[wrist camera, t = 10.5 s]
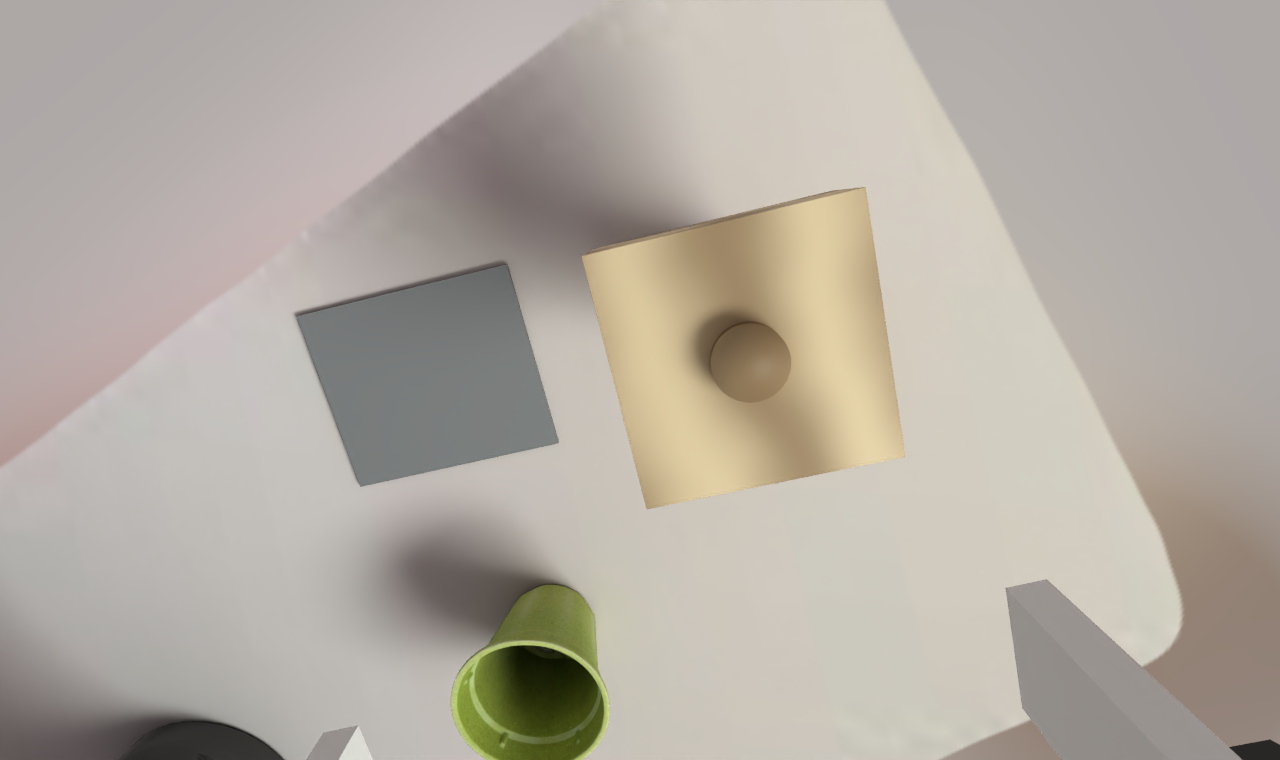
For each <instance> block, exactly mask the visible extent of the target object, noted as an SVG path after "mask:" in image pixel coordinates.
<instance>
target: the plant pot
mask: <svg viewBox="0 0 1280 760" xmlns="http://www.w3.org/2000/svg"><path fill="white" fill-rule="evenodd" d="M537 646H541V647H544V648H547V649H551V650H554V651H553V652H544V651H541V650H539V649H537V648H536V647H537ZM609 710H610V708H609V697H608V693H607V689H606V686H605V684H604V682H603V680H602V678H601V676H600V673H599V670H598V662H597V646H596V627H595V618H594V614H593V612H592V610H591V609H590V607H589V606H588V604H587V603H586V601H585V600H584V598H583V597H582V596H581V595H580V594H578V593H577V592H575V591H574V590H572V589H570V588H567V587H564V586H560V585H542V586H539V587H537V588H535V589H533V590H531V591H529V592H527V593H525V594H523V595H521V596H520V597H519V598H518V600H517V601H516V602H515V604H514V606H513V607H512V609H511V610H510V612H509V613H508V615H507V617H506V618H505V620H504V621H503V623H502V625H501V626H500V628H499V629H498V631H497V632H496V634H495V635H494V637H493V638H492V640H491V641H490V643H489V644H488V645H487V646H486V647H484V648H482V649H481V650H479V651H478V652H477V653H475V654H474V655H473V656H471V657H470V658H469V659H468V660H467V661H466V663H465V664H464V665H463V666H462V668H461V669H460V671H459V673H458V675H457V677H456V679H455V681H454V684H453V688H452V693H451V711H452V716H453V719H454V723H455V725H456V727H457V729H458V731H459V733H460V735H461V736H462V738H463V739H464V740H465V742H466V743H467V744H468V745H469V746H470V747H471V748H472V749H473V750H474V751H475V752H476V753H478V754H479V755H480V756H482V757H483V758H484V759H486V760H582V759H584V758H585V757H586V756H587V755H588V754H589V753H591V752H592V751H593V750H594V749H595V748H596V747H597V745H598V744H599V743H600V741H601V739H602V738H603V736H604V734H605V731H606V728H607V725H608V721H609Z"/></svg>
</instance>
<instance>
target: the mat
mask: <svg viewBox="0 0 1280 760" xmlns="http://www.w3.org/2000/svg"><path fill="white" fill-rule="evenodd" d="M296 317H297V319H298V322H299V325H300V327H301V330H302V333H303V335H304V338H305V341H306V343H307V346H308V349H309V351H310V354H311V357H312V359H313V362H314V365H315V367H316V370H317V373H318V375H319V378H320V381H321V383H322V386H323V389H324V391H325V394H326V397H327V399H328V402H329V405H330V407H331V410H332V413H333V415H334V418H335V420H336V423H337V426H338V428H339V431H340V434H341V436H342V439H343V442H344V444H345V447H346V450H347V452H348V455H349V458H350V460H351V463H352V466H353V468H354V471H355V474H356V476H357V479H358V482H359V484H360V487H361V486H366V485H371V484H375V483H380V482H384V481H389V480H393V479H398V478H402V477H407V476H411V475H416V474H421V473H425V472H430V471H434V470H439V469H443V468H448V467H452V466H457V465H461V464H466V463H471V462H475V461H480V460H484V459H489V458H493V457H498V456H502V455H507V454H511V453H516V452H521V451H525V450H530V449H534V448H539V447H543V446H548V445H552V444H557V443H558V442H559V441H558V437H557V434H556V431H555V427H554V424H553V420H552V417H551V413H550V410H549V406H548V403H547V399H546V396H545V393H544V389H543V386H542V382H541V379H540V375H539V372H538V368H537V365H536V361H535V358H534V355H533V351H532V348H531V344H530V341H529V337H528V334H527V330H526V327H525V323H524V320H523V317H522V313H521V310H520V306H519V303H518V299H517V296H516V292H515V289H514V285H513V282H512V279H511V275H510V272H509V268H508V265H507V264H505V265H501V266H497V267H493V268H489V269H485V270H481V271H477V272H473V273H469V274H465V275H461V276H457V277H453V278H449V279H445V280H441V281H436V282H432V283H428V284H424V285H420V286H416V287H412V288H408V289H404V290H400V291H396V292H392V293H388V294H384V295H380V296H376V297H372V298H368V299H364V300H360V301H356V302H352V303H348V304H344V305H340V306H336V307H332V308H328V309H324V310H320V311H316V312H312V313H307V314H303V315H299V316H296Z"/></svg>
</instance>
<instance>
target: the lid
mask: <svg viewBox="0 0 1280 760" xmlns="http://www.w3.org/2000/svg"><path fill="white" fill-rule="evenodd" d="M582 260H583V264H584V268H585V272H586V275H587V279H588V283H589V287H590V291H591V295H592V299H593V303H594V307H595V310H596V314H597V318H598V322H599V326H600V330H601V334H602V338H603V341H604V345H605V349H606V353H607V357H608V361H609V365H610V369H611V373H612V376H613V380H614V384H615V388H616V392H617V396H618V400H619V404H620V408H621V411H622V415H623V419H624V423H625V427H626V431H627V435H628V439H629V442H630V446H631V450H632V454H633V458H634V462H635V466H636V470H637V474H638V477H639V481H640V485H641V489H642V493H643V497H644V501H645V505H646V508H647V509H651V508H656V507H660V506H665V505H670V504H675V503H680V502H685V501H690V500H695V499H700V498H705V497H710V496H715V495H720V494H724V493H729V492H734V491H739V490H744V489H749V488H754V487H759V486H764V485H769V484H774V483H779V482H783V481H788V480H793V479H798V478H803V477H808V476H813V475H818V474H823V473H828V472H833V471H838V470H843V469H847V468H852V467H857V466H862V465H867V464H872V463H877V462H882V461H887V460H892V459H897V458H902V457H905V451H904V444H903V437H902V430H901V424H900V417H899V410H898V403H897V397H896V390H895V383H894V376H893V370H892V363H891V356H890V349H889V342H888V336H887V329H886V322H885V315H884V309H883V302H882V295H881V288H880V282H879V275H878V268H877V261H876V254H875V248H874V241H873V234H872V227H871V221H870V214H869V207H868V200H867V194H866V187H863V188H853V189H844V190H834V191H829V192H825V193H821V194H817V195H813V196H808V197H804V198H800V199H796V200H792V201H788V202H784V203H780V204H776V205H771V206H767V207H763V208H759V209H755V210H751V211H747V212H743V213H739V214H735V215H730V216H726V217H722V218H718V219H714V220H710V221H706V222H702V223H698V224H694V225H689V226H685V227H681V228H677V229H673V230H669V231H665V232H661V233H657V234H652V235H648V236H644V237H640V238H636V239H632V240H628V241H624V242H620V243H616V244H611V245H607V246H603V247H599V248H595V249H593V250H591V251H590V252H588V253H586V254H585V255H583V256H582Z"/></svg>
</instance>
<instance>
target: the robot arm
mask: <svg viewBox="0 0 1280 760" xmlns="http://www.w3.org/2000/svg"><path fill="white" fill-rule="evenodd" d="M1006 594H1007V601H1008V608H1009V615H1010V623H1011V630H1012V637H1013V644H1014V652H1015V659H1016V666H1017V673H1018V680H1019V688H1020V695H1021V702H1022V708H1023V709H1024V711H1025V712H1026V713H1027V715H1028V716H1029V717H1030V719H1031V720H1032V721H1033V723H1034V724H1035V725H1036V726H1037V728H1038V729H1039V731H1040V732H1041V733H1042V735H1043V736H1044V737H1045V739H1046V740H1047V741H1048V743H1049V744H1050V745H1051V747H1052V748H1053V749H1054V750H1055V752H1056V753H1057V755H1058V756H1059V757H1060V758H1061V760H1280V745H1279V744H1277V743H1275V742H1273V741H1272V740H1265V741H1260V742H1255V743H1250V744H1244V745H1239V746H1233V747H1228V746H1227V745H1226V744H1225V743H1224V742H1222V741H1221V740H1220V739H1219V738H1218V737H1217V736H1216V735H1215V734H1214V733H1213V732H1211V731H1210V730H1209V729H1208V728H1207V727H1206V726H1205V725H1204V724H1203V723H1202V722H1201V721H1200V720H1199V719H1198V718H1196V717H1195V716H1194V715H1193V714H1192V713H1191V712H1190V711H1189V710H1188V709H1187V708H1186V707H1185V706H1184V705H1182V704H1181V703H1180V702H1179V701H1178V700H1177V699H1176V698H1175V697H1174V696H1173V695H1172V694H1171V693H1169V692H1168V691H1167V690H1166V689H1165V688H1164V687H1163V686H1162V685H1161V684H1160V683H1159V682H1157V681H1156V680H1155V679H1154V678H1153V677H1152V676H1151V675H1150V674H1149V673H1148V672H1146V671H1145V670H1144V669H1143V668H1142V667H1141V666H1140V665H1139V664H1138V663H1137V662H1136V661H1135V660H1134V659H1133V658H1131V657H1130V656H1129V655H1128V654H1127V653H1126V652H1125V651H1124V650H1123V649H1122V648H1121V647H1120V646H1118V645H1117V644H1116V643H1115V642H1114V641H1113V640H1112V639H1111V638H1110V637H1109V636H1108V635H1107V634H1105V633H1104V632H1103V631H1102V630H1101V629H1100V628H1099V627H1098V626H1097V625H1096V624H1095V623H1094V622H1092V621H1091V620H1090V619H1089V618H1088V617H1087V616H1086V615H1085V614H1084V613H1083V612H1082V611H1081V610H1079V609H1078V608H1077V607H1076V606H1075V605H1074V604H1073V603H1072V602H1071V601H1070V600H1069V599H1068V598H1066V597H1065V596H1064V595H1063V594H1062V593H1061V592H1060V591H1059V590H1058V589H1057V588H1056V587H1055V586H1053V585H1052V584H1051V583H1050V582H1049V581H1048V580H1047V579H1046V580H1042V581H1037V582H1032V583H1028V584H1023V585H1018V586H1013V587H1009V588H1006ZM119 760H283V759H282V758H281V757H279V756H278V755H277V754H276V753H275V752H274V751H273V750H272V749H270V748H269V747H268V746H266V745H265V744H263V743H262V742H260V741H259V740H257V739H255V738H253V737H251V736H249V735H247V734H245V733H243V732H241V731H238V730H235V729H233V728H229V727H226V726H222V725H218V724H212V723H204V722H184V723H176V724H171V725H167V726H164V727H161V728H158V729H156V730H154V731H152V732H150V733H148V734H146V735H145V736H143V737H142V738H141V739H139V740H138V741H137V742H136V743H135V744H134V745H133V746H132V747H131V748H130V749H129V750H128V751H127V752H126V753H125V754H124V755H123V756H122V757H121V758H120V759H119ZM307 760H373V759H372V756H371V754H370V752H369V749H368V747H367V745H366V742H365V740H364V738H363V736H362V733H361V731H360V729H359V726H354V727H349V728H344V729H340V730H335V731H330V732H326V733H323V734H322V736H321V738H320V739H319V741H318V742H317V744H316V746H315V747H314V749H313V750H312V752H311V753H310V755H309V757H308V758H307Z"/></svg>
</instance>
